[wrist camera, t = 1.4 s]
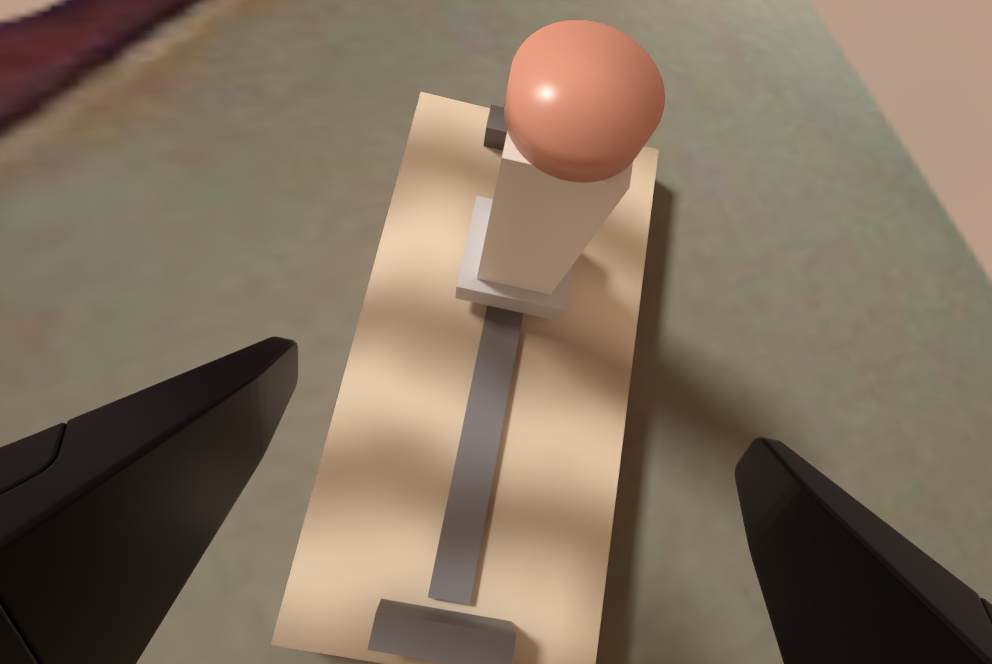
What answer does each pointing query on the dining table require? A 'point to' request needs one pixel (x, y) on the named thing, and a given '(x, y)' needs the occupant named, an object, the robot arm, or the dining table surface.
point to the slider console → (470, 434)
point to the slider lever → (559, 163)
